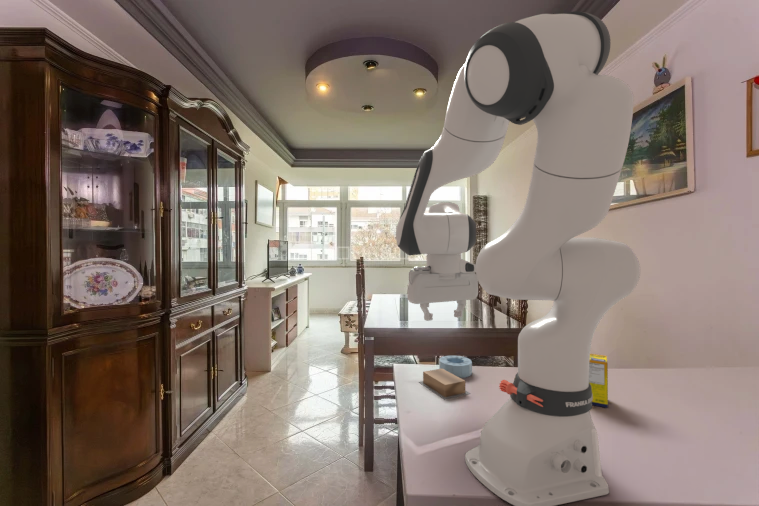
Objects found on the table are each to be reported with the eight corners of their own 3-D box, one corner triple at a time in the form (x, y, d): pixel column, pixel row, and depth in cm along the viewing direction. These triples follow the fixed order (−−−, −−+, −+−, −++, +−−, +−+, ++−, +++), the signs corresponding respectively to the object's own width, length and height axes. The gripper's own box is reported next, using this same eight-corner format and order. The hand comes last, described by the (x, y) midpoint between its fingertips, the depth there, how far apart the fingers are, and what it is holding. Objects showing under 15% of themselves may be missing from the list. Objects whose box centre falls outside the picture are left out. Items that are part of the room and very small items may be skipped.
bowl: (452, 383, 93) (452, 367, 93) (433, 372, 102) (433, 358, 102) (478, 378, 97) (478, 362, 97) (458, 368, 106) (458, 354, 106)
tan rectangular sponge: (445, 397, 82) (445, 384, 82) (423, 382, 91) (423, 371, 91) (465, 392, 85) (465, 380, 85) (442, 379, 94) (442, 368, 94)
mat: (444, 403, 81) (444, 399, 81) (418, 385, 92) (418, 382, 92) (470, 397, 84) (470, 393, 84) (442, 380, 95) (442, 377, 95)
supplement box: (607, 399, 84) (607, 355, 84) (608, 408, 78) (608, 361, 78) (579, 393, 87) (579, 351, 87) (578, 402, 82) (578, 357, 82)
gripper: (415, 267, 81) (415, 324, 81) (482, 265, 89) (481, 317, 89) (402, 266, 86) (402, 319, 87) (466, 264, 95) (466, 313, 95)
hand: (443, 318), depth 88 cm, fingers open, 8 cm apart
